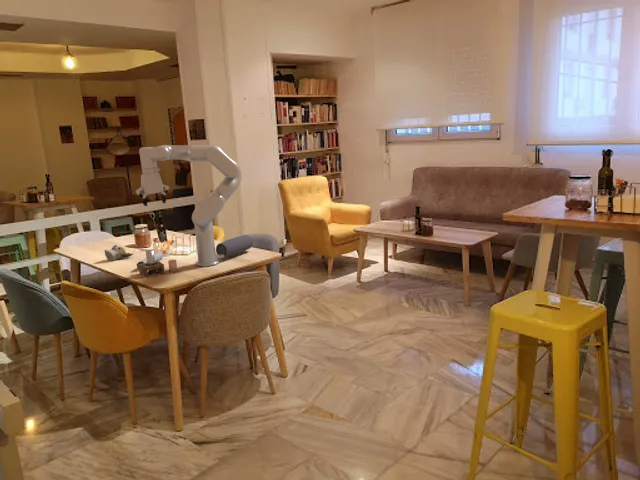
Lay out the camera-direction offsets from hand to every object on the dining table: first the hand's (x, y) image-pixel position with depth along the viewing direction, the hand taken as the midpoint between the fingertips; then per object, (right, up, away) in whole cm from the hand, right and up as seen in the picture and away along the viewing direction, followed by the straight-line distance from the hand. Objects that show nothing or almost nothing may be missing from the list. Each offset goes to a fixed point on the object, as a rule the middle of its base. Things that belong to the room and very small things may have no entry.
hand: (155, 204), depth 265 cm
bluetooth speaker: (+38, -27, +26) cm, 53 cm away
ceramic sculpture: (-32, -30, +32) cm, 54 cm away
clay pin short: (+10, -35, -1) cm, 36 cm away
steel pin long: (-1, -36, -2) cm, 36 cm away
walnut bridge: (-1, -36, -2) cm, 36 cm away
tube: (-7, -32, +17) cm, 37 cm away
